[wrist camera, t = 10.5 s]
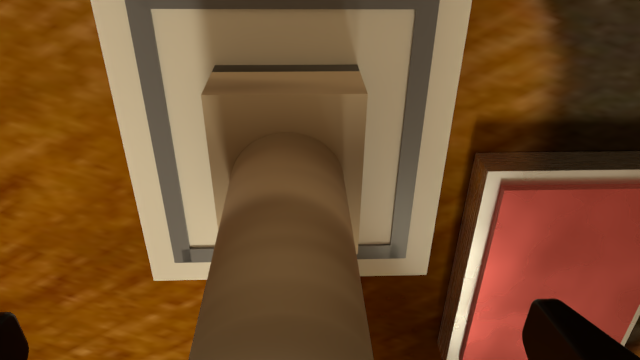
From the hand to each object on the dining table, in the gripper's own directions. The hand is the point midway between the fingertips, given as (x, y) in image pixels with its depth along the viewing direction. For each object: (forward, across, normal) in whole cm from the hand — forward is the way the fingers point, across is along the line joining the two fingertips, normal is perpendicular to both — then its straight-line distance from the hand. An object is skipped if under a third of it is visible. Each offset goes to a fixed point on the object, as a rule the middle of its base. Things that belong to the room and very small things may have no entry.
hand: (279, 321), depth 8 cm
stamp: (+7, 0, 0) cm, 7 cm away
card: (+8, 0, 0) cm, 8 cm away
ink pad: (+8, -10, +5) cm, 13 cm away
